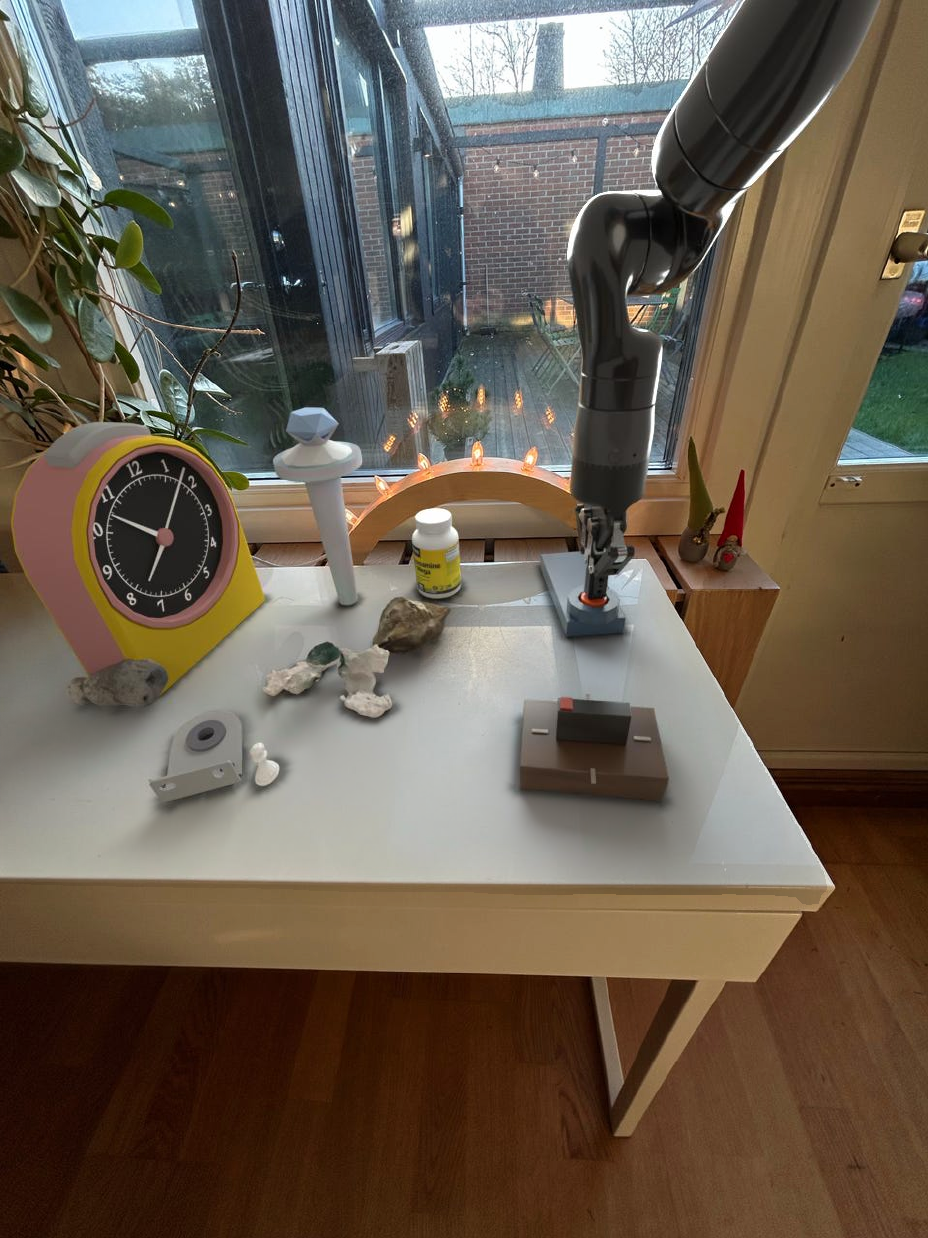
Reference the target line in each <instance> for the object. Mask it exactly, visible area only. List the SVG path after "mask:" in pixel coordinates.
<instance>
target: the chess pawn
mask: <svg viewBox="0 0 928 1238" xmlns="http://www.w3.org/2000/svg"><path fill="white" fill-rule="evenodd" d="M249 754H250V756H251V757H252V761H253V763H256V764H258V766H257V768H256V771H255V778H254V782H255V784H256V785H258V786H260V787H262V786H263V787H265V786H268V785H270V784H271V783H273V782H274V781H275V780H276V779H277V777H278V775H279V772H280V766H279V765H280V764H279V763H277V762H276V761H274V760H269V759H267V755H268V751H267V750H266V749H265V745H264V744H263V743H262V742H257V743H256V742H255V744H253V745H252V747H250V749H249Z"/></svg>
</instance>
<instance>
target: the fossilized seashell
mask: <svg viewBox="0 0 928 1238" xmlns="http://www.w3.org/2000/svg"><path fill="white" fill-rule="evenodd" d="M451 608H452V607H451V606H442V605H439V604H435V603H431V602H427V601H421V600H420V601H419V600H411V599H409V598H406V597H405V596H404V597H403V596H399V597H398V596H396V597H393V598H392V599H390V600H389V602H388V603H387V604H386V606H385V608H383V610H382V612H381V614H380V618H379V624H378V627H377V631H376V633H375V635H374V636H373V638H372V643H371V644H372V645H371V648H372V647H373V646H374V645H376V644H377V646H378V647H379V648H381V649H384V650H388V651H389V654H390V653H391V654H408V653H412V652H415V651H417V650H420V649H422V648H423V647H425V646H426V645H427V644H429V643H434V642H435V641H437V640H438V639H439V638H440V637H441V636H442V634H443V632H444V628H445V625H446V619H447V618H448V617H447V616H448V615H450V612H451V610H452V609H451Z"/></svg>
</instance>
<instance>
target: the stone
mask: <svg viewBox="0 0 928 1238" xmlns="http://www.w3.org/2000/svg"><path fill="white" fill-rule="evenodd" d="M167 683H168V674H167V671H166V670H165V668H164V667H163V666H162V665H160V664H158V663H156V662H155V661H153V660H151V659H142V660H133V659H124V660H122V661H121V662H119V663H117V664H114V665H110V666H108V667H106V668H104V669H102V670H100V671H98V672H96V673H93V674H92V675H90V676H84V677H83V676H81V677H79V676H77V677H74V678H72V679H71V680H70V681H69V682H68V684H67V685H66V695H67V697H68V698H69V700H70V701H72V702H73V703H74V704H76V705H83V706H85V705H88V704H90V703H93V704H95V705H98V706H100V707H105V708H111V707H118V706H127V707H131V708H132V707H133V708H144V707H146V706H149V705H151V704H153V703H155V702H156V701H157V700H158V699H159V698H160V697H161V696H160V694H161V692H162V690H163V688H164V687H165V686H166V684H167ZM159 696H160V697H159Z"/></svg>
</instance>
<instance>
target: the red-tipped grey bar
mask: <svg viewBox="0 0 928 1238" xmlns="http://www.w3.org/2000/svg"><path fill="white" fill-rule="evenodd" d="M557 702H558V706H557V719H556V739H563V740H575V741H587V742H599V743H612V744H624V745H626V744H627V738H628V733H629V728H630V723H631V718H632V714H631V708H630V707H631V703H630V702H621V701H606V700H593V699H590V700H586V699H577V698H573V697H567V696H566V697H565V696H563V697H562V696H560V697H558V698H557Z"/></svg>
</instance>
